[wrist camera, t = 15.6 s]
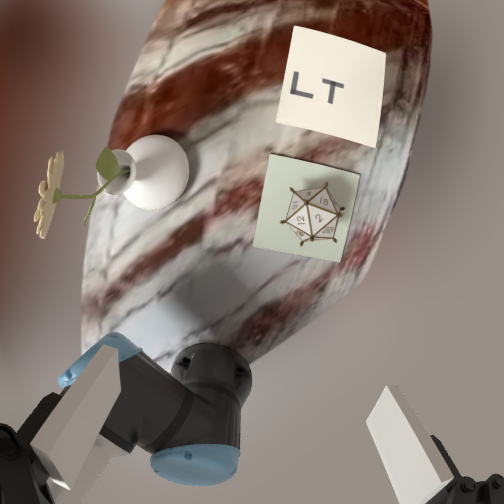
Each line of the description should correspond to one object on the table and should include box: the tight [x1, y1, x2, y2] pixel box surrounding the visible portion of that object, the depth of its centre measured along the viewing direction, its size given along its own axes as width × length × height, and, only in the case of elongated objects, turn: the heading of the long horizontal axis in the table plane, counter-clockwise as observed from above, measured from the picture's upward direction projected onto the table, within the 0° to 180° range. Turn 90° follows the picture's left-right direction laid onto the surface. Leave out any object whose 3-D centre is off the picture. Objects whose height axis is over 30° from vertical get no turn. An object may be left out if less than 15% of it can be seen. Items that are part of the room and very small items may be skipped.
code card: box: [276, 26, 386, 148], centre depth 37 cm, size 18×16×1 cm
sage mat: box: [252, 154, 360, 262], centre depth 42 cm, size 14×14×1 cm
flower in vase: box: [34, 135, 189, 239], centre depth 29 cm, size 13×11×25 cm
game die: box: [279, 181, 345, 247], centre depth 38 cm, size 9×8×10 cm
